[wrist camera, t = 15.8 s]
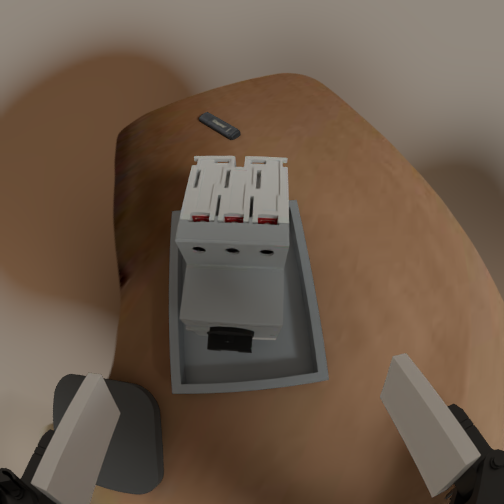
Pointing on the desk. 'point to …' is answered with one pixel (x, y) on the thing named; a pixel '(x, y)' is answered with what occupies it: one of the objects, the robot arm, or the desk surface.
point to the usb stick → (219, 126)
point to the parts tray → (263, 351)
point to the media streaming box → (124, 435)
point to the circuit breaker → (234, 250)
